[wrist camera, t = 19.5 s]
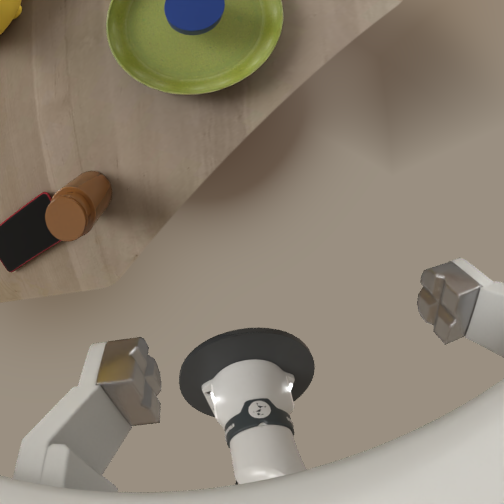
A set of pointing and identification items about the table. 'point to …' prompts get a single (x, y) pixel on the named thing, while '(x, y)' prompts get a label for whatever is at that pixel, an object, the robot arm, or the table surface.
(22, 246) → the smartphone
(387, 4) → the table surface
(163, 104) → the table surface
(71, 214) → the jar
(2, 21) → the teapot
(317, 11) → the table surface
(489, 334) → the robot arm
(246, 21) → the saucer
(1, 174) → the table surface
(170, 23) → the jar lid
